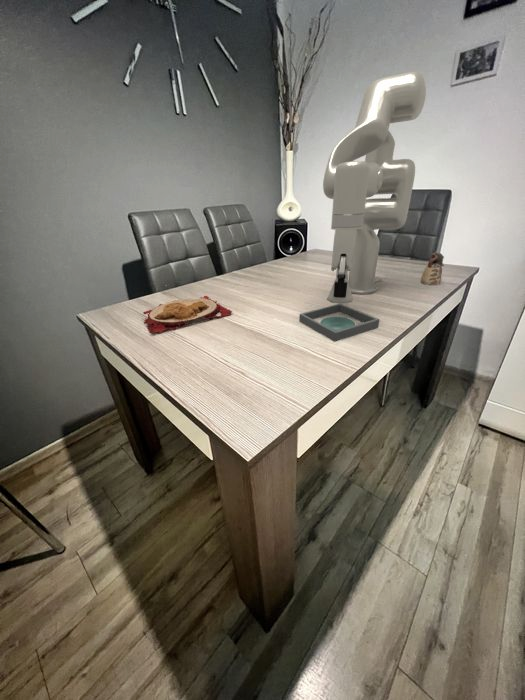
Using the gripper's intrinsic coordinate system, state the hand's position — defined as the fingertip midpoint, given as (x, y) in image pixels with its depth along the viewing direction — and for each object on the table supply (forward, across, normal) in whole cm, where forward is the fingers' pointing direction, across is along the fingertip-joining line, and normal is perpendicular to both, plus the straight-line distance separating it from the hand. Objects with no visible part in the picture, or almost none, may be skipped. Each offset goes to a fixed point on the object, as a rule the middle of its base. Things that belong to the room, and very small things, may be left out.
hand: (340, 293), depth 76 cm
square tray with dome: (+9, 0, 0) cm, 9 cm away
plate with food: (+10, 0, -52) cm, 53 cm away
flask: (+2, 0, 0) cm, 2 cm away
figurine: (+9, -49, +34) cm, 61 cm away
